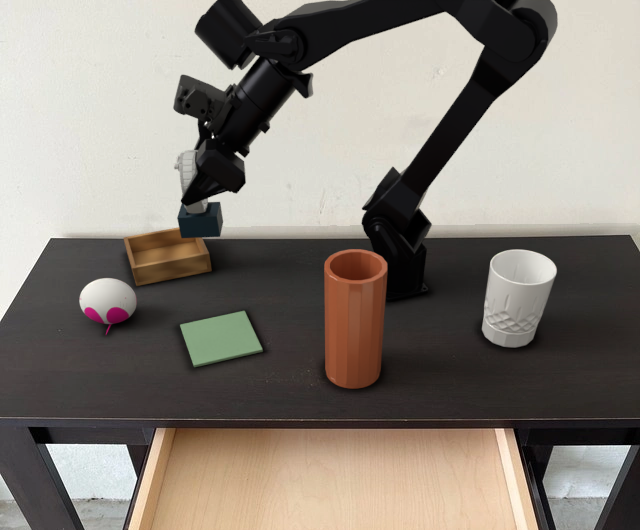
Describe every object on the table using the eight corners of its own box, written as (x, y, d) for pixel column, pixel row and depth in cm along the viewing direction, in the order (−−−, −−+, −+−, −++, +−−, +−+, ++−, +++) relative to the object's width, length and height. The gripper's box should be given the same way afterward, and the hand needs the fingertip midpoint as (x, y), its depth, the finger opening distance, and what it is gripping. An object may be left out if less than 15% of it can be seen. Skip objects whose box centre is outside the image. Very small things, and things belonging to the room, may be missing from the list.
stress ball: (90, 345, 91) (68, 330, 85) (94, 290, 93) (73, 271, 86) (143, 344, 91) (125, 329, 84) (146, 289, 92) (129, 270, 86)
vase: (367, 348, 85) (372, 244, 74) (388, 381, 81) (397, 275, 70) (318, 360, 83) (316, 255, 73) (336, 394, 79) (337, 288, 68)
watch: (224, 215, 98) (213, 140, 90) (218, 243, 92) (205, 165, 84) (187, 216, 98) (172, 141, 90) (178, 244, 92) (162, 167, 84)
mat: (244, 312, 91) (244, 310, 90) (262, 351, 85) (262, 349, 85) (180, 326, 89) (179, 324, 88) (194, 367, 83) (193, 365, 83)
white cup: (499, 307, 91) (514, 242, 84) (550, 332, 87) (569, 266, 80) (465, 332, 87) (477, 266, 80) (516, 359, 83) (533, 292, 76)
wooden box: (198, 241, 104) (195, 223, 102) (211, 271, 98) (209, 253, 96) (127, 254, 102) (123, 237, 100) (136, 286, 96) (132, 268, 94)
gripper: (206, 29, 85) (139, 123, 93) (203, 78, 72) (125, 182, 80) (272, 90, 91) (204, 173, 99) (279, 145, 78) (201, 236, 86)
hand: (184, 189), depth 90 cm, fingers closed on watch, 8 cm apart
